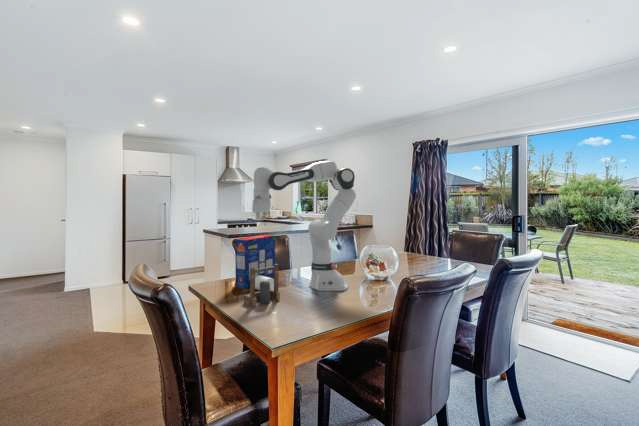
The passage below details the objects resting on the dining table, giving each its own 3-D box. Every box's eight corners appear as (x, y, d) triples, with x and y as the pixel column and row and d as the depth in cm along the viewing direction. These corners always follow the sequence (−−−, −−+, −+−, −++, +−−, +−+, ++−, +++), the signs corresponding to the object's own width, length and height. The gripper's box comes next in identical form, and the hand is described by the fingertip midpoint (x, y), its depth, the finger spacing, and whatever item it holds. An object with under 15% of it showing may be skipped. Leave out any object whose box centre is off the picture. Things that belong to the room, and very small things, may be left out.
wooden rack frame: (279, 299, 161) (279, 264, 161) (253, 307, 150) (253, 269, 149) (269, 296, 167) (269, 262, 166) (244, 303, 156) (243, 266, 155)
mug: (264, 294, 171) (264, 279, 171) (252, 290, 177) (252, 276, 177) (280, 289, 180) (280, 275, 180) (269, 286, 187) (269, 272, 186)
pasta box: (265, 277, 209) (265, 234, 207) (275, 278, 205) (275, 235, 204) (235, 287, 184) (235, 239, 183) (246, 289, 180) (246, 240, 179)
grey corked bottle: (271, 301, 159) (271, 280, 158) (266, 304, 154) (266, 282, 153) (263, 300, 160) (263, 279, 160) (257, 303, 156) (257, 281, 155)
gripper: (260, 195, 172) (260, 221, 172) (272, 196, 192) (272, 218, 192) (249, 195, 173) (249, 220, 173) (262, 195, 193) (262, 218, 193)
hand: (261, 219), depth 183 cm, fingers open, 8 cm apart
